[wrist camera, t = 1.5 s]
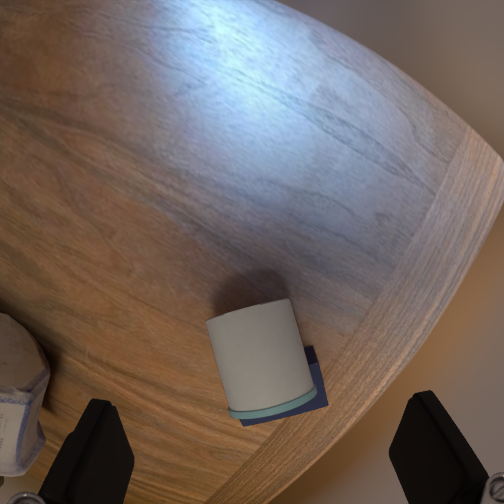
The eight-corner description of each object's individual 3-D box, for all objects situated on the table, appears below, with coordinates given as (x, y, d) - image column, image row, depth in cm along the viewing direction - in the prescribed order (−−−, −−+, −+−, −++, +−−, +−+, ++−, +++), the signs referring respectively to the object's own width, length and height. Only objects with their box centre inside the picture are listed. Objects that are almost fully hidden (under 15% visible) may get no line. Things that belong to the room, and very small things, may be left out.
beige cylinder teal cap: (201, 288, 29) (184, 354, 19) (281, 265, 28) (300, 324, 19) (237, 377, 32) (237, 452, 22) (307, 359, 31) (328, 431, 22)
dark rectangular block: (312, 345, 31) (318, 362, 28) (322, 387, 32) (328, 405, 29) (224, 368, 31) (222, 386, 28) (242, 408, 33) (242, 427, 30)
